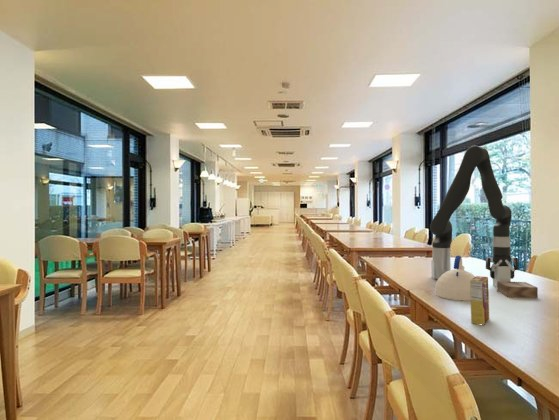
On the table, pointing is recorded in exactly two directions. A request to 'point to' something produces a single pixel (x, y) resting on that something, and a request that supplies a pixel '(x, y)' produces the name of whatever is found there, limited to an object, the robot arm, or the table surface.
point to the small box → (502, 274)
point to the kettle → (455, 283)
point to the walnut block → (517, 289)
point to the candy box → (479, 300)
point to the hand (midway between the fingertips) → (502, 278)
